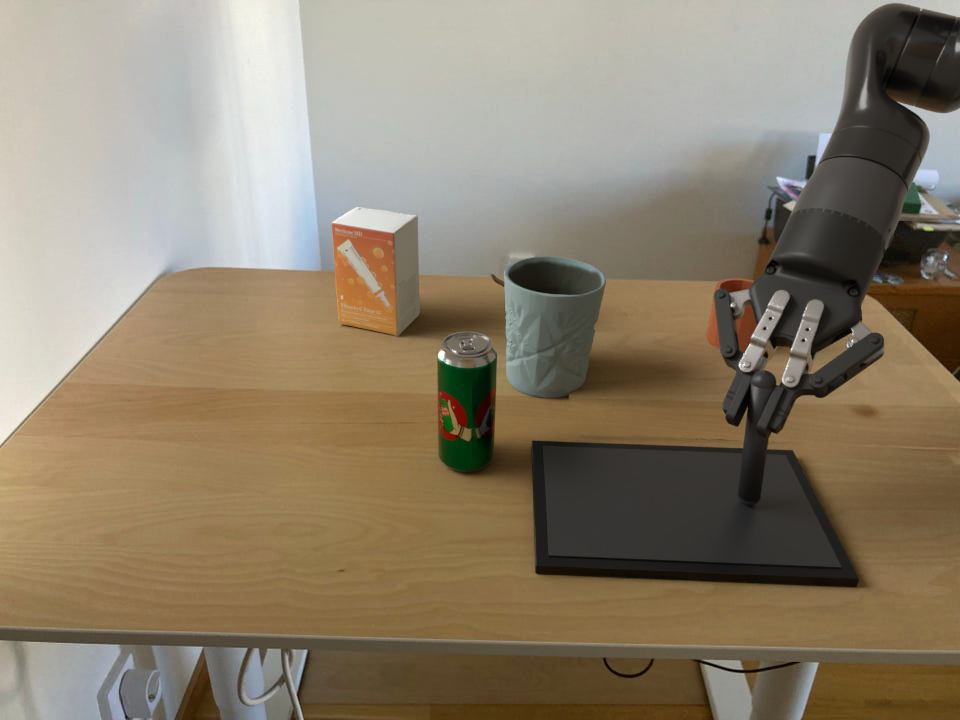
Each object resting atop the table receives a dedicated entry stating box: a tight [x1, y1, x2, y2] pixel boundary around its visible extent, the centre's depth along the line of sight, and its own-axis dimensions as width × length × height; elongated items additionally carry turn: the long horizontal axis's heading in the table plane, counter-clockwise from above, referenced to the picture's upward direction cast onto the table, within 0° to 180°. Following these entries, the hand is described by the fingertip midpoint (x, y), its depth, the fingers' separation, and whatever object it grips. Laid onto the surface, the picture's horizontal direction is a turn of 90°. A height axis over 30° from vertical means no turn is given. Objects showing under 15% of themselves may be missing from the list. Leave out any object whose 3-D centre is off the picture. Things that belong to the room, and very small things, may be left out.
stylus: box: [738, 369, 777, 506], centre depth 61 cm, size 2×2×13 cm
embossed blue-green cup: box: [503, 255, 607, 399], centre depth 81 cm, size 10×10×12 cm
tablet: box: [530, 439, 860, 588], centre depth 65 cm, size 24×16×1 cm, turn 88°
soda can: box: [436, 331, 498, 473], centre depth 68 cm, size 5×5×12 cm
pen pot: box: [705, 277, 757, 354], centre depth 89 cm, size 6×6×7 cm
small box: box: [331, 206, 421, 337], centre depth 91 cm, size 8×6×13 cm
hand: (747, 427), depth 58 cm, fingers closed on stylus, 2 cm apart
